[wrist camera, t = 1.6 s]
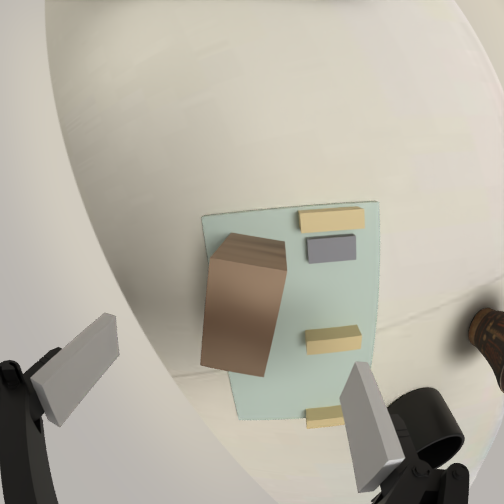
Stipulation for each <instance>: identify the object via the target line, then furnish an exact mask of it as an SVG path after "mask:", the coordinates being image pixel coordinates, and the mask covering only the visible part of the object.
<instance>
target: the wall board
mask: <svg viewBox="0 0 504 504" xmlns="http://www.w3.org/2000/svg"><path fill="white" fill-rule="evenodd" d="M202 224H203V231H204V238H205V245H206V251H207V258H208V264H209V262H210V257H211V256H212V255H213V253H214V252H215V251H216V250H217V249H218V248H219V246H220V245H221V244H222V243H223V242H224V240H225V239H226V238H227V237H228V236H229V235H230V233H231V232H232V233H238V234H244V235H250V236H255V237H261V238H267V239H273V240H279V241H285V249H286V261H287V275H286V280H285V285H284V290H283V295H282V299H281V304H280V309H279V313H278V318H277V322H276V327H275V331H274V336H273V340H272V345H271V349H270V353H269V358H268V362H267V366H266V370H265V374H264V377H258V376H252V375H246V374H240V373H235V372H230V371H228V373H229V378H230V382H231V387H232V392H233V396H234V401H235V405H236V410H237V414H238V418H239V420H280V419H298V418H306V424H307V429H310V428H321V427H330V426H337V425H345V422H344V417H343V413H342V408H341V404H340V399H339V397H340V395H341V393H342V391H343V389H344V386H345V384H346V382H347V380H348V377H349V375H350V373H351V370H352V368H353V365H354V363H355V361H357V362H368V364H369V366H370V368H371V364H372V357H373V349H374V341H375V332H376V322H377V310H378V296H379V276H380V211H379V202H377V201H366V202H348V203H333V204H319V205H306V206H293V207H282V208H271V209H260V210H250V211H240V212H231V213H222V214H213V215H205V216H203V217H202Z"/></svg>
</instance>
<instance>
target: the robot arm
mask: <svg viewBox="0 0 504 504" xmlns="http://www.w3.org/2000/svg"><path fill="white" fill-rule="evenodd" d="M118 356H119V347H118V337H117V326H116V316H114V315H111V314H107V313H104V314H102V315H101V316H100V317H99V318H98V319H96V321H94V322H93V323H92V324H91V325H89V326H88V327H87V328H86V329H85V330H83V332H81V333H80V334H79V335H78V336H76V337H75V338H74V339H73V340H72V341H71V342H70V343H68V344H67V345H66V346H65V347H64V348H63V349H62V348H59V347H57V348H55V349H53V350H50V351H49V352H48V353H47V354H46V355H44V357H42V358H41V359H40V360H39V361H38V362H37V363H35V364H34V365H33V366H32V367H31V368H30V369H28V370H27V371H26V372H25V373H24V374H23V373H22V371H21V368H20V365H19V364H18V363H17V362H15V361H12V360H8V361H3V362H1V363H0V470H1V479H2V488H3V495H4V500H5V504H58V501H57V497H56V494H55V490H54V486H53V482H52V477H51V472H50V468H49V462H48V457H47V451H46V444H45V437H44V428H43V420H42V417H41V416H42V414H43V413H44V412H45V414H46V416H47V419H48V420H49V421H50V422H52V423H54V424H56V425H57V426H59V427H61V426H62V424H63V423H64V422H65V421H66V419H67V418H68V417H69V416H70V414H71V413H72V412H73V411H74V409H75V408H76V407H77V406H78V404H79V403H80V402H81V401H82V399H83V398H84V397H85V396H86V395H87V393H88V392H89V391H90V390H91V388H92V387H93V386H94V385H95V384H96V382H97V381H98V380H99V379H100V378H101V376H102V375H103V374H104V373H105V372H106V370H107V369H108V368H109V367H110V366H111V364H112V363H113V362H114V361H115V360H116V358H117V357H118ZM339 399H340V404H341V408H342V413H343V417H344V422H345V427H346V431H347V436H348V441H349V446H350V451H351V456H352V462H353V467H354V473H355V478H356V484H357V490H358V493H361V492H370V491H374V490H375V489H376V488H377V487H378V486H379V485H380V487H381V492H380V493H379V494H378V495H377V496H376V497H375V498H373V499H372V500H371V502H373V503H372V504H468V495H469V471H468V469H467V467H466V466H464V465H463V464H460V463H454V464H452V465H450V466H449V467H448V468H447V469H446V470H443V469H432V468H431V466H430V465H429V464H428V463H427V462H425V461H423V460H420V459H419V457H418V455H417V452H416V450H415V447H414V445H413V442H412V440H411V437H409V436H410V435H409V432H408V430H407V427H406V425H405V422H404V421H403V419H402V418H401V417H400V416H399V415H398V414H389V413H388V410H387V407H386V405H385V402H384V400H383V397H382V395H381V392H380V390H379V387H378V385H377V383H376V380H375V378H374V375H373V373H372V371H371V368H370V366H369V364H368V362H357V361H355V363H354V365H353V368H352V370H351V373H350V375H349V377H348V380H347V382H346V384H345V386H344V389H343V391H342V393H341V395H340V397H339Z"/></svg>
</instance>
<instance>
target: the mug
mask: <svg viewBox="0 0 504 504" xmlns="http://www.w3.org/2000/svg"><path fill="white" fill-rule="evenodd" d="M387 410H388V413H389V414H398V415H399V416H400V417H401V418H402V419H403V421H404V422H405V425H406V427H407V430H408V432H409V435H410V436H409V437H411V440H412V442H413V445H414V447H415V450H416V452H417V455H418V457H419V459H420V460H423V461H425V462H427V463H428V464H429V465H430V466H431V468H432V469H437V468H439V467H440V466H442V465H443V464H445V463H446V462H447V461H449V460H450V459H451V458H452V457H453V456H454V455H455V454H456V453H457V452H458V451H459V450H460V449H461V447H462V445H463V443H464V440H465V438H464V435H463V433H462V431H461V429H460V427H459V426H458V424H457V422H456V420H455V418H454V416H453V415H452V413H451V411H450V409H449V408H448V406H447V404H446V402H445V401H444V399H443V397H442V396H441V394H440V393H439V391H437V390H435V389H432V388H422V389H418V390H415V391H412V392H410V393H408V394H406V395H404V396H402V397H401V398H399V399H398V400H397V401H395V402H394V403H393V404H392V405H391V406H390V407H389V408H388V409H387Z"/></svg>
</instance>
